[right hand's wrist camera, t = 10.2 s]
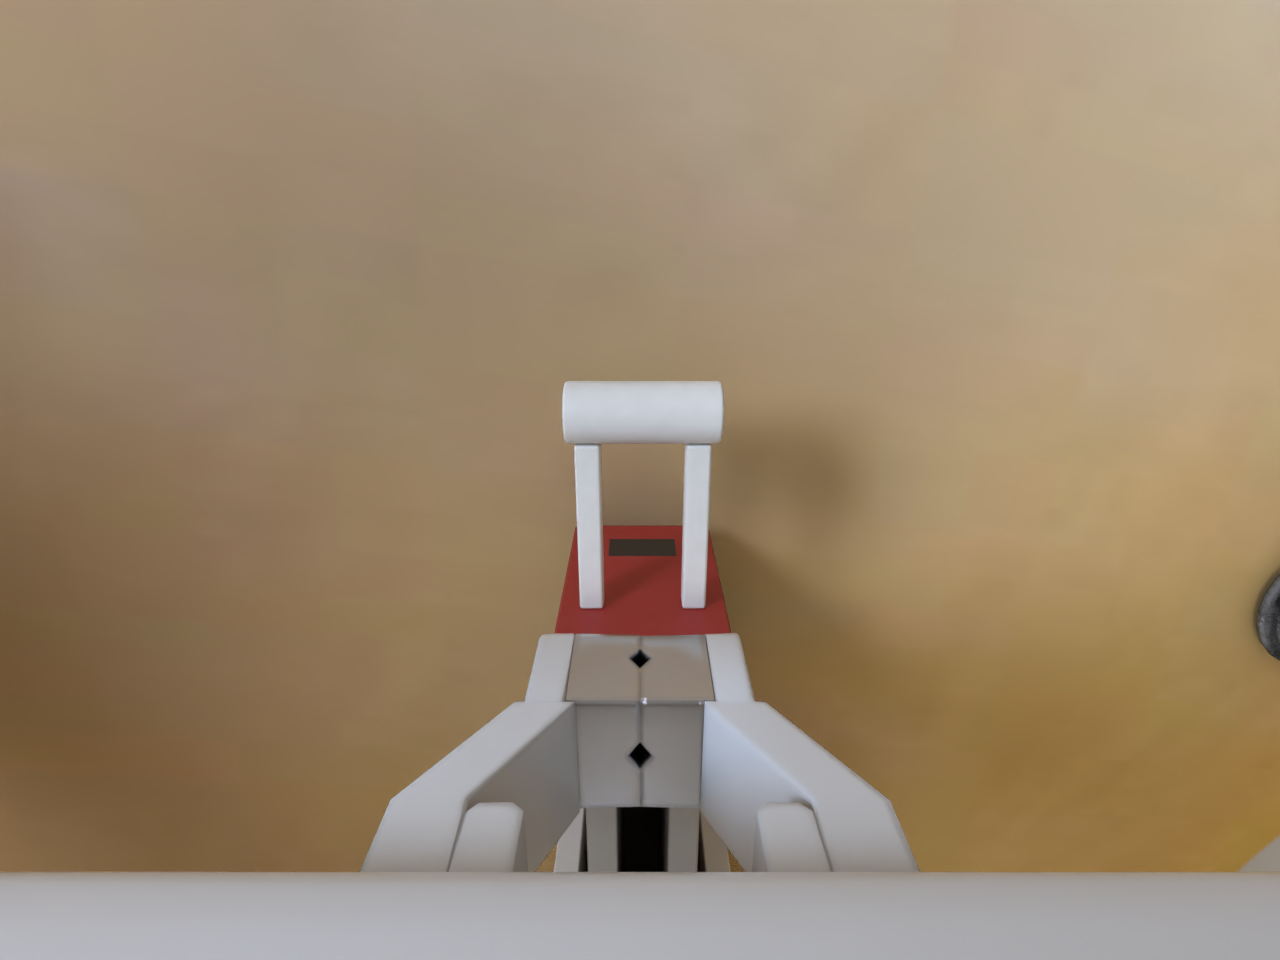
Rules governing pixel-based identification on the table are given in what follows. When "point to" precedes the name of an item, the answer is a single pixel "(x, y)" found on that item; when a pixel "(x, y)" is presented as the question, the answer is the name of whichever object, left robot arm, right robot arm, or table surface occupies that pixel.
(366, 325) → the table surface
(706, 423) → the drawer
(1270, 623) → the dark grey chess piece
